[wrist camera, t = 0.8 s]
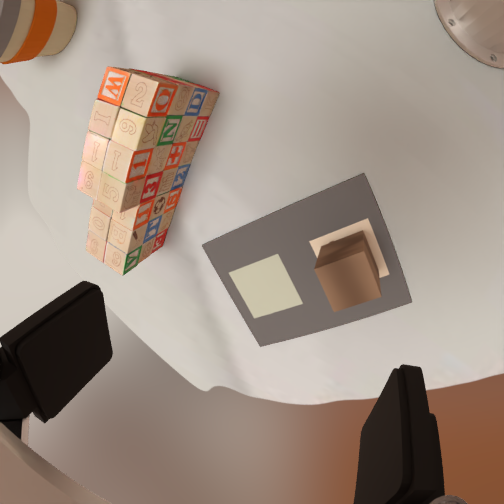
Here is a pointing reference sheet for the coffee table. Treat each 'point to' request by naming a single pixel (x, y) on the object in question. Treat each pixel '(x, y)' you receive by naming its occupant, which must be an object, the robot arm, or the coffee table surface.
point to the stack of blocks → (139, 160)
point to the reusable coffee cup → (34, 28)
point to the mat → (304, 263)
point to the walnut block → (348, 272)
